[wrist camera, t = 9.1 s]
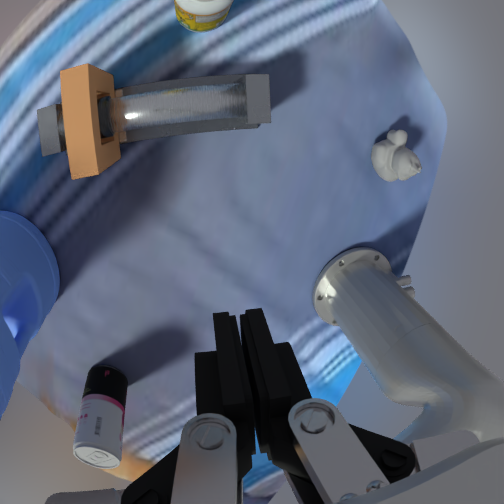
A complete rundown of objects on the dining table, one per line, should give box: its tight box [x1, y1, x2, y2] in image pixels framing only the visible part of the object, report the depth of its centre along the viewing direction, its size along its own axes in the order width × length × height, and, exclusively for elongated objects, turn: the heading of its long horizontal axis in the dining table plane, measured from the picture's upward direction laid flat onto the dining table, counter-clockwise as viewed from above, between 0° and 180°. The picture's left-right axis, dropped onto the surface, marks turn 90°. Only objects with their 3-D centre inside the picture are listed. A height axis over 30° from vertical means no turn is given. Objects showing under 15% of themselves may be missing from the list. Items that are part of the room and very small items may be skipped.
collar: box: [60, 64, 121, 180], centre depth 23 cm, size 2×9×9 cm, turn 2°
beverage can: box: [73, 365, 128, 469], centre depth 36 cm, size 6×6×15 cm
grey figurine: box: [371, 130, 422, 182], centre depth 32 cm, size 5×7×8 cm
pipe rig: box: [37, 74, 271, 157], centre depth 26 cm, size 21×6×7 cm, turn 92°
